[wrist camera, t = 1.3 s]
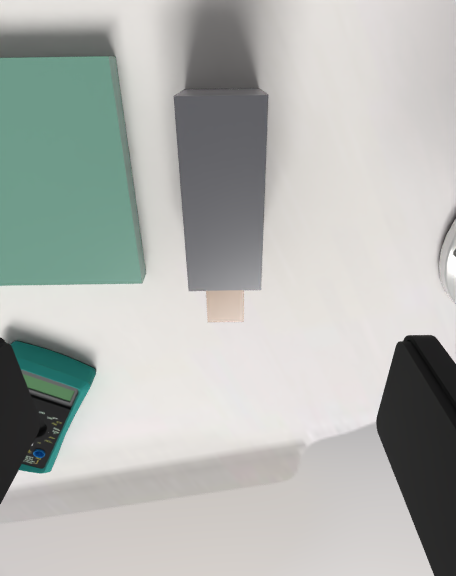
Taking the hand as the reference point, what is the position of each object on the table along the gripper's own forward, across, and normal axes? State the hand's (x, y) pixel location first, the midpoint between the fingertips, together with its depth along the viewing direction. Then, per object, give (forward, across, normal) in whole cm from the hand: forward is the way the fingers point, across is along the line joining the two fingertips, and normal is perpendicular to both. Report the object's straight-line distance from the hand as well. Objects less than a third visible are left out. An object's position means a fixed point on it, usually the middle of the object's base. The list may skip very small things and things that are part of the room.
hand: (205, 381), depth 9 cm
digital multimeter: (+19, +18, +21) cm, 33 cm away
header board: (+18, +17, 0) cm, 25 cm away
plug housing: (+18, 0, +1) cm, 18 cm away
